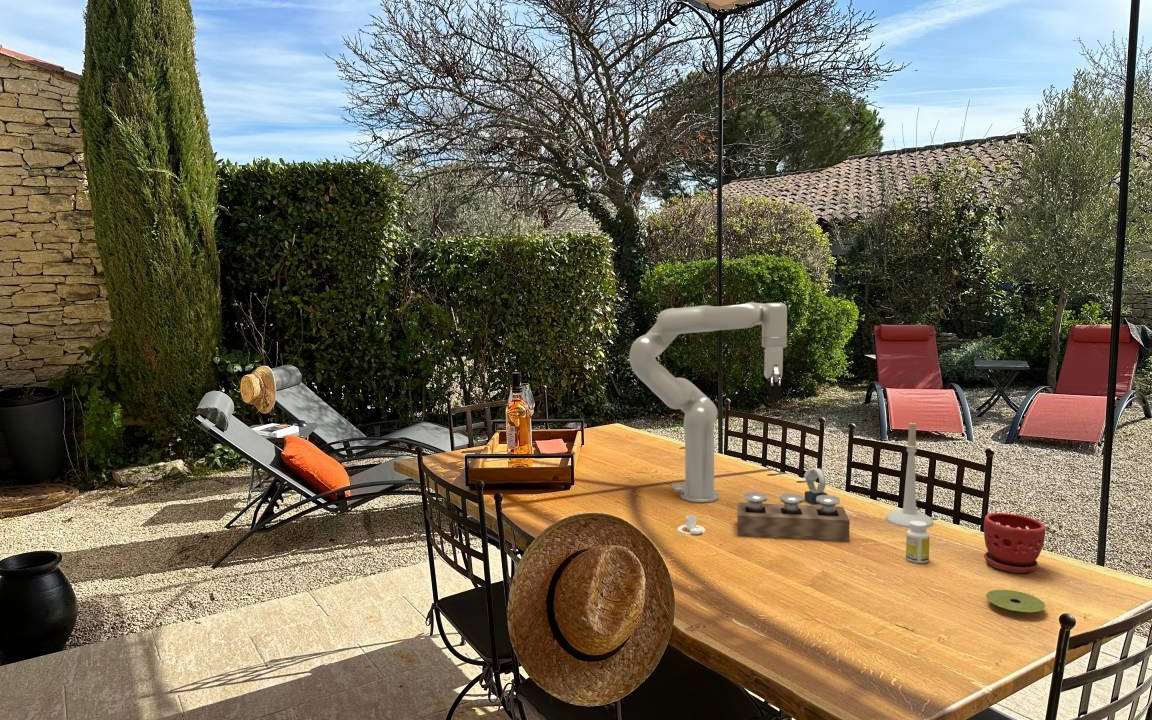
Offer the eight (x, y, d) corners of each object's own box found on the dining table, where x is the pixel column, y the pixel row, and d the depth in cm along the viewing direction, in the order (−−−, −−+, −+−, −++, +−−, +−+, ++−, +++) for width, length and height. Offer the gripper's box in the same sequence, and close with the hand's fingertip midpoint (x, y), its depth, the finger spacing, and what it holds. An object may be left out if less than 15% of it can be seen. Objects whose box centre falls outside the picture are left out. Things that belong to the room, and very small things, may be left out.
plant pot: (1022, 581, 178) (1024, 532, 176) (970, 562, 189) (972, 517, 188) (1054, 570, 184) (1057, 523, 182) (1003, 552, 195) (1005, 508, 194)
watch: (816, 497, 245) (817, 464, 244) (830, 504, 237) (830, 471, 236) (801, 499, 244) (801, 466, 242) (814, 506, 236) (815, 472, 235)
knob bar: (738, 535, 211) (738, 515, 211) (737, 521, 223) (737, 502, 222) (849, 541, 205) (849, 520, 205) (842, 526, 217) (842, 506, 216)
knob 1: (744, 516, 213) (744, 498, 213) (743, 509, 219) (744, 491, 219) (767, 517, 212) (767, 499, 211) (766, 510, 218) (766, 492, 217)
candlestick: (876, 517, 224) (879, 420, 221) (907, 511, 229) (911, 415, 226) (910, 530, 213) (914, 428, 209) (943, 524, 218) (947, 423, 214)
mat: (1021, 624, 156) (1021, 615, 156) (974, 603, 167) (974, 594, 166) (1056, 613, 161) (1057, 605, 161) (1008, 593, 171) (1008, 585, 171)
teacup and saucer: (704, 537, 212) (704, 523, 212) (676, 536, 214) (676, 522, 213) (705, 527, 221) (705, 513, 220) (678, 525, 222) (678, 512, 222)
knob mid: (780, 518, 211) (780, 499, 211) (778, 511, 217) (779, 493, 217) (803, 519, 210) (804, 500, 209) (801, 512, 216) (802, 494, 215)
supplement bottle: (927, 557, 193) (928, 520, 192) (929, 564, 188) (931, 527, 187) (904, 554, 195) (905, 518, 194) (906, 562, 190) (907, 525, 189)
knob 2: (817, 519, 209) (817, 501, 209) (814, 512, 215) (814, 494, 215) (841, 520, 208) (841, 502, 207) (837, 513, 214) (838, 495, 213)
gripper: (759, 339, 243) (759, 391, 245) (764, 345, 226) (764, 400, 228) (783, 339, 242) (783, 391, 244) (789, 344, 225) (789, 400, 227)
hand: (773, 395), depth 236 cm, fingers open, 9 cm apart
